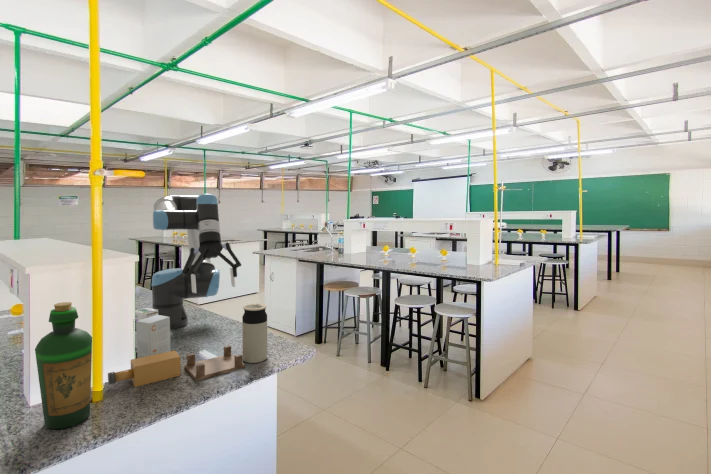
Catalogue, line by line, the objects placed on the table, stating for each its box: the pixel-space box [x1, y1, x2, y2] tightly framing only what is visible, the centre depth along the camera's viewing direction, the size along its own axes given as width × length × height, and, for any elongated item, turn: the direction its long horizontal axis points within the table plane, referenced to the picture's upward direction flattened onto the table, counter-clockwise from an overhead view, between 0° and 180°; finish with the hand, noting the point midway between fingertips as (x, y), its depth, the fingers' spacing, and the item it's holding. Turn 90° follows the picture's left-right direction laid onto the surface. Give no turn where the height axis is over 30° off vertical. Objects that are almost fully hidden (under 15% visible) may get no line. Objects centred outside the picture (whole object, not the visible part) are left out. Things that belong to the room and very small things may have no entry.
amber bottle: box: [107, 350, 182, 388], centre depth 109 cm, size 18×6×6 cm, turn 129°
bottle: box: [34, 301, 93, 430], centre depth 87 cm, size 11×11×28 cm
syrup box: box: [134, 307, 158, 353], centre depth 130 cm, size 6×6×14 cm
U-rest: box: [184, 344, 246, 382], centre depth 118 cm, size 15×11×4 cm
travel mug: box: [241, 302, 268, 364], centre depth 125 cm, size 8×8×18 cm
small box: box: [136, 315, 172, 358], centre depth 125 cm, size 8×6×13 cm
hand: (214, 289), depth 134 cm, fingers open, 13 cm apart
